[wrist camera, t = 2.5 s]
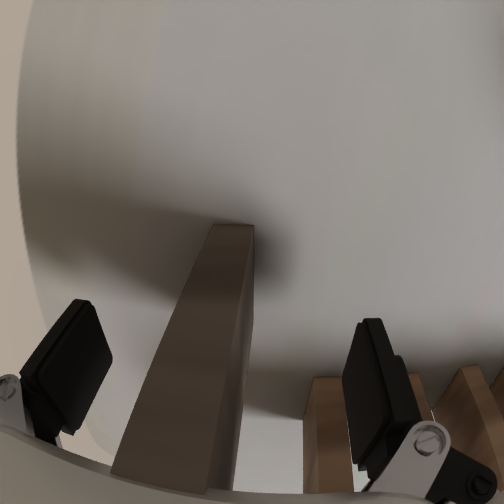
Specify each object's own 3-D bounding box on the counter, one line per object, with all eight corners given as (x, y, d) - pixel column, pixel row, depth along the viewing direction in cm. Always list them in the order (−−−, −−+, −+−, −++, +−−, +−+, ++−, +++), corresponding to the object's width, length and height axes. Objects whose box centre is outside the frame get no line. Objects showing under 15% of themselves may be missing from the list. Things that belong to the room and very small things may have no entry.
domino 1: (213, 224, 12) (107, 478, 4) (254, 225, 12) (203, 500, 3) (220, 320, 15) (171, 528, 6) (253, 322, 15) (225, 537, 6)
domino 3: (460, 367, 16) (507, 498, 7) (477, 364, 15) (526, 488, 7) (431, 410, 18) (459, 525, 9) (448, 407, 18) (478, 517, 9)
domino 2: (313, 377, 16) (318, 549, 8) (341, 376, 16) (356, 545, 7) (302, 420, 19) (301, 556, 10) (325, 420, 19) (330, 555, 10)
